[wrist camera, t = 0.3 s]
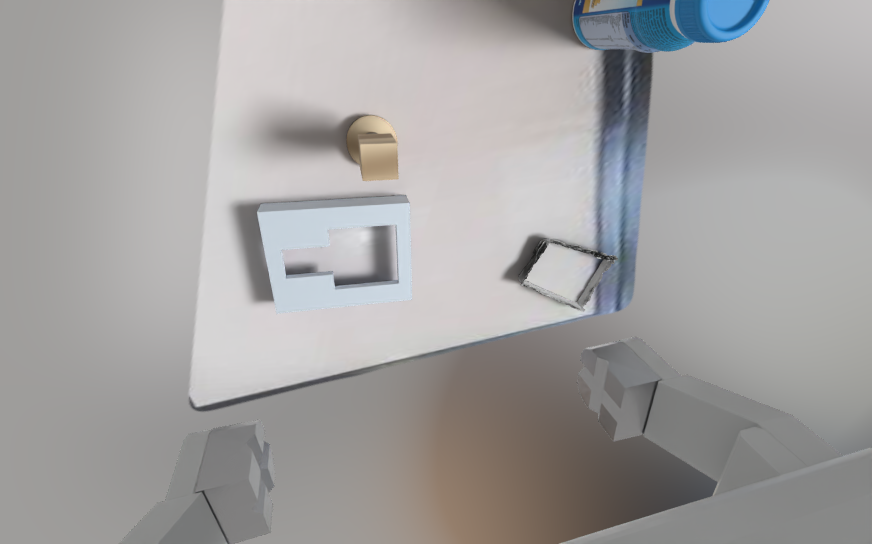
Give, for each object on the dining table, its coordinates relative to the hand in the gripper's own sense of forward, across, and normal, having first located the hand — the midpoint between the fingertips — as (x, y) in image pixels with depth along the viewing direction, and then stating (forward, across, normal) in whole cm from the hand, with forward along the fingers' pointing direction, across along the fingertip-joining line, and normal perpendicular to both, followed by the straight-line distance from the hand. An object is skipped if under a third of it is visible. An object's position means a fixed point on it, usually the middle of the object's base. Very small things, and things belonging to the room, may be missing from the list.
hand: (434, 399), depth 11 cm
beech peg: (+47, -4, +4) cm, 47 cm away
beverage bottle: (+46, -32, -9) cm, 57 cm away
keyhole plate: (+46, +2, +18) cm, 50 cm away
